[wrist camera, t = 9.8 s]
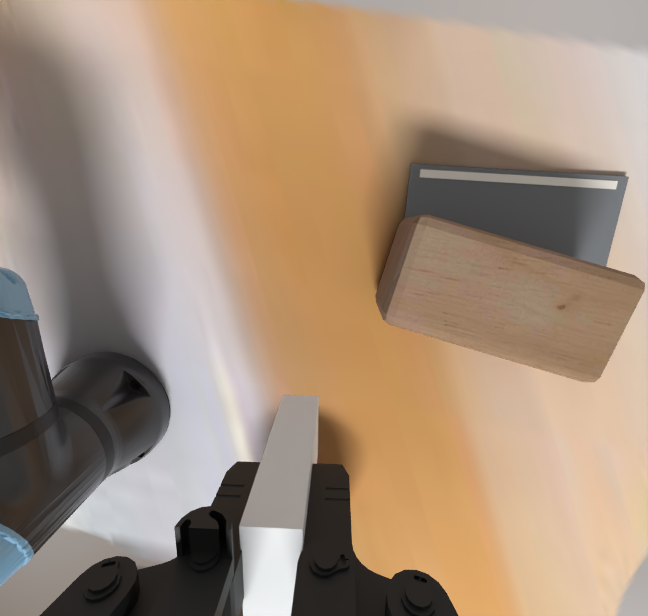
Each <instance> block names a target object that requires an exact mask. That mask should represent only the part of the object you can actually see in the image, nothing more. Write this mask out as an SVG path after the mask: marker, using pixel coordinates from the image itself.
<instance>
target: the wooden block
mask: <svg viewBox="0 0 648 616" xmlns="http://www.w3.org/2000/svg"><path fill="white" fill-rule="evenodd" d="M644 288H645V283H644V282H642V281H641V280H640V279H639V278H637V277H636V276H635V275H632V274H628V273H625V272H622V271H618V270H615V269H611V268H608V267H605V266H601V265H598V264H594V263H591V262H588V261H584V260H581V259H577V258H574V257H571V256H567V255H564V254H560V253H557V252H554V251H550V250H547V249H543V248H540V247H537V246H533V245H530V244H526V243H523V242H520V241H516V240H513V239H510V238H506V237H503V236H499V235H496V234H493V233H489V232H486V231H482V230H479V229H476V228H472V227H469V226H465V225H462V224H459V223H455V222H452V221H448V220H445V219H442V218H438V217H435V216H431V215H419V216H414V217H410V218H406V219H403V220H402V221H401V223H400V224H399V225H398V229H397V232H396V235H395V238H394V241H393V244H392V247H391V250H390V253H389V256H388V259H387V262H386V265H385V268H384V271H383V274H382V277H381V280H380V283H379V287H378V290H377V293H376V303H377V305H378V308H379V310H380V313H381V315H382V318H383V320H384V321H385V322H387V323H388V324H389V325H392V326H395V327H398V328H402V329H405V330H409V331H412V332H415V333H419V334H422V335H425V336H429V337H432V338H436V339H439V340H442V341H446V342H449V343H453V344H456V345H459V346H463V347H466V348H469V349H473V350H476V351H480V352H483V353H486V354H490V355H493V356H497V357H500V358H503V359H507V360H510V361H513V362H517V363H520V364H524V365H527V366H530V367H534V368H537V369H541V370H544V371H547V372H551V373H554V374H557V375H561V376H564V377H568V378H571V379H574V380H578V381H581V382H595V381H596V380H597V379H599V378H600V376H601V374H602V372H603V370H604V369H605V367H606V365H607V363H608V361H609V359H610V357H611V355H612V353H613V351H614V349H615V347H616V345H617V343H618V341H619V339H620V337H621V335H622V333H623V331H624V329H625V327H626V325H627V323H628V322H629V320H630V318H631V316H632V314H633V312H634V310H635V308H636V306H637V304H638V302H639V300H640V298H641V296H642V294H643V292H644Z"/></svg>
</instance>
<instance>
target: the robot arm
mask: <svg viewBox="0 0 648 616" xmlns="http://www.w3.org/2000/svg"><path fill="white" fill-rule="evenodd" d="M38 320H39V316H38V315H37V314H35V311H34V308H33V305H32V302H31V299H30V296H29V293H28V290H27V287H26V284H25V282H24V280H23V279H22V278H21V277H20V276H19V275H18V274H16V273H15V272H13V271H11V270H9V269H6V268H1V267H0V586H1V585H2V584H3V583H4V582H5V581H6V580H7V579H8V578H9V577H10V576H12V575H13V574H14V573H15V572H16V571H17V570H18V569H19V568H20V567H22V566H24V565H25V564H27V563H28V562H29V560H30V559H31V558H32V557H33V555H34V554H35V553H36V552H37V551H38V550H39V549H40V548H41V547H42V546H43V544H45V542H46V541H47V540H48V539H49V538H50V537H51V536H52V535H53V534H54V533H55V532H56V531H57V530H58V529H59V528H60V527H61V525H62V524H63V523H64V522H65V521H66V520H67V519H68V518H69V517H70V516H71V515H72V514H73V513H74V512H75V510H76V509H77V508H78V507H79V506H80V505H81V504H82V503H83V502H84V501H85V500H86V499H87V498H88V497H89V496H90V494H91V493H92V492H93V491H94V490H95V489H96V488H97V487H98V486H99V485H100V484H101V483H102V482H103V481H104V480H105V479H106V478H107V477H108V476H110V475H112V474H114V473H116V472H118V471H120V470H122V469H124V468H125V467H127V466H129V465H130V464H133V463H135V462H137V461H139V460H140V459H142V458H143V457H145V456H146V455H147V454H148V453H150V452H151V451H152V449H153V448H154V447H155V446H156V445H157V444H158V443H159V442H160V440H161V439H162V438H163V436H164V434H165V433H166V430H167V428H168V424H169V418H170V408H169V402H168V399H167V396H166V393H165V391H164V389H163V387H162V385H161V384H160V382H159V381H158V379H157V378H156V377H155V376H154V375H153V373H152V372H151V371H150V370H148V369H147V368H146V367H145V366H143V365H142V364H141V363H139V362H137V361H136V360H134V359H132V358H129V357H127V356H124V355H121V354H117V353H110V352H100V353H93V354H89V355H86V356H84V357H82V358H80V359H78V360H76V361H74V362H72V363H70V364H68V365H67V366H65V367H64V368H62V369H61V370H60V371H59V372H58V373H57V374H56V375H55V376H54V378H53V379H52V380H51V377H50V373H49V369H48V365H47V361H46V357H45V353H44V349H43V344H42V340H41V335H40V331H39V326H38V322H37V321H38ZM318 404H319V396H300V395H283V396H282V399H281V402H280V405H279V408H278V411H277V414H276V417H275V420H274V423H273V426H272V429H271V432H270V435H269V438H268V441H267V444H266V447H265V450H264V453H263V456H262V459H261V462H237V463H235V464H234V465H233V466H232V467H231V468H230V469H229V470H228V471H227V472H226V474H225V477H224V479H223V481H222V483H221V487H219V490H218V492H217V494H216V497H215V498H214V501H213V503H212V505H211V506H208V507H201V508H199V509H196V510H193V511H191V512H190V513H188V514H187V515H185V516H184V517H183V518H181V519H180V521H179V522H178V523H177V525H176V526H175V538H176V548H177V557H176V558H175V559H173V560H171V561H168V562H165V563H163V564H159V565H155V566H151V567H147V568H143V569H139V570H137V567H136V564H135V562H134V561H133V560H131V559H130V558H128V557H121V556H116V557H112V558H108V559H104V560H102V561H100V562H98V563H96V564H94V565H93V566H91V567H90V568H89V569H87V570H86V571H85V572H84V573H82V574H81V575H80V576H79V577H78V578H77V579H76V580H75V581H74V582H73V583H72V584H71V585H70V586H69V587H68V588H67V589H66V590H65V591H64V592H63V593H62V594H61V595H60V596H59V597H58V598H57V599H56V600H55V601H54V602H53V603H52V604H51V605H50V606H49V607H48V608H47V609H46V610H45V611H44V612H43V613H42V614H41V615H40V616H239V615H240V611H241V607H242V603H243V616H458V614H457V612H456V610H455V608H454V606H453V604H452V603H451V601H450V599H449V597H448V595H447V593H446V592H445V590H444V589H443V588H442V586H441V585H440V584H439V582H437V581H436V580H435V579H433V578H432V577H431V576H429V575H428V574H426V573H423V572H420V571H418V570H404V571H401V572H399V573H396V574H395V575H394V576H393V578H392V579H389V578H386V577H384V576H381V575H378V574H376V573H374V572H372V571H370V570H369V569H367V568H366V567H365V566H364V565H362V564H361V562H360V561H359V560H358V558H357V557H356V555H355V553H354V551H353V547H352V536H351V512H350V491H349V475H348V473H347V472H346V470H345V468H344V467H343V465H337V464H317V457H318Z"/></svg>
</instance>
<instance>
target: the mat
mask: <svg viewBox="0 0 648 616" xmlns="http://www.w3.org/2000/svg"><path fill="white" fill-rule="evenodd" d="M628 178H629V177H626V176H610V175H593V174H576V173H559V172H542V171H525V170H509V169H492V168H475V167H458V166H441V165H424V164H411V166H410V175H409V183H408V192H407V200H406V209H405V217H404V219H406V218H410V217H414V216H419V215H431V216H435V217H438V218H442V219H445V220H448V221H452V222H455V223H459V224H462V225H465V226H469V227H472V228H476V229H479V230H482V231H486V232H489V233H493V234H496V235H499V236H503V237H506V238H510V239H513V240H516V241H520V242H523V243H526V244H530V245H533V246H537V247H540V248H543V249H547V250H550V251H554V252H557V253H560V254H564V255H567V256H571V257H574V258H577V259H581V260H584V261H588V262H591V263H594V264H598V265H601V266H605V267H606V264H607V260H608V256H609V252H610V248H611V245H612V241H613V237H614V233H615V229H616V225H617V221H618V217H619V213H620V209H621V205H622V201H623V197H624V193H625V190H626V186H627V182H628Z"/></svg>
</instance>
